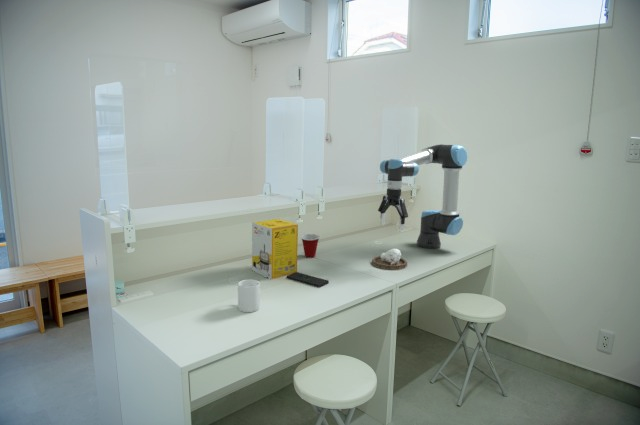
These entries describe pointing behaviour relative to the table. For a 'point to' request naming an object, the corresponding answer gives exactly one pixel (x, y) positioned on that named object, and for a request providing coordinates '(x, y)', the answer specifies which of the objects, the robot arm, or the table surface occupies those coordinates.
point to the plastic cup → (310, 244)
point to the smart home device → (308, 279)
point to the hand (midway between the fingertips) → (391, 227)
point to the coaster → (386, 264)
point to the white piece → (391, 256)
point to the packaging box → (274, 248)
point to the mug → (249, 295)
